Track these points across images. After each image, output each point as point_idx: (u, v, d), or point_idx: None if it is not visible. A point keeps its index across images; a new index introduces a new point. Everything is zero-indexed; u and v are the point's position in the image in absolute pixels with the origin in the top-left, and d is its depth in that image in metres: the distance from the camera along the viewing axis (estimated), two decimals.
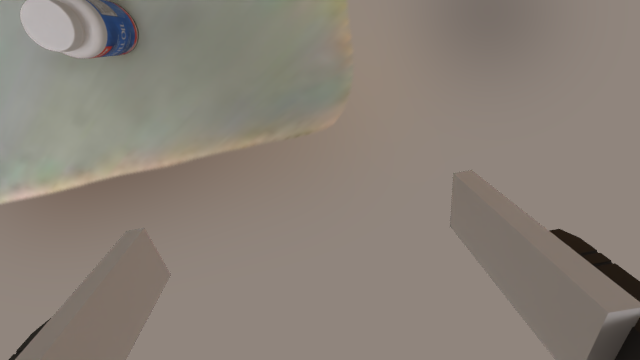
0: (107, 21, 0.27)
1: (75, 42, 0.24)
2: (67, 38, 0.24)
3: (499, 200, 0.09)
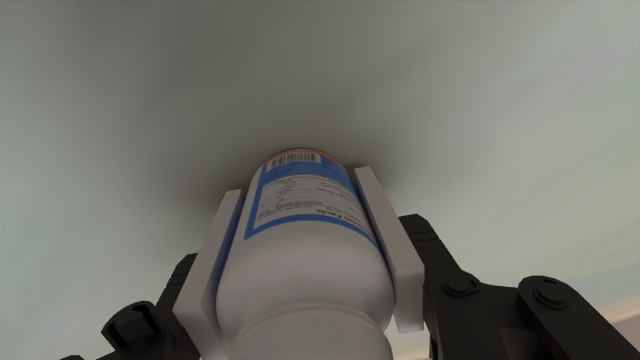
0: None
1: None
2: None
3: (375, 190, 0.11)
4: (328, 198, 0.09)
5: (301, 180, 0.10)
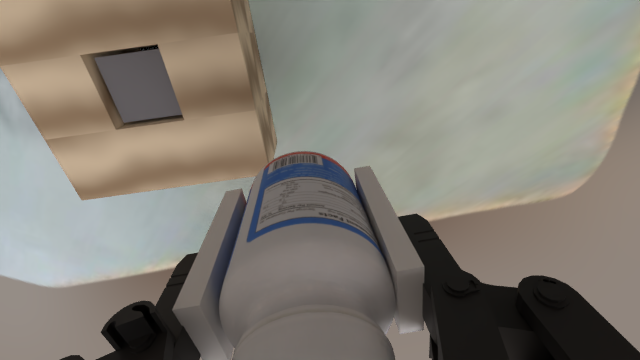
0: None
1: None
2: None
3: (375, 190, 0.11)
4: (330, 201, 0.09)
5: (303, 183, 0.10)
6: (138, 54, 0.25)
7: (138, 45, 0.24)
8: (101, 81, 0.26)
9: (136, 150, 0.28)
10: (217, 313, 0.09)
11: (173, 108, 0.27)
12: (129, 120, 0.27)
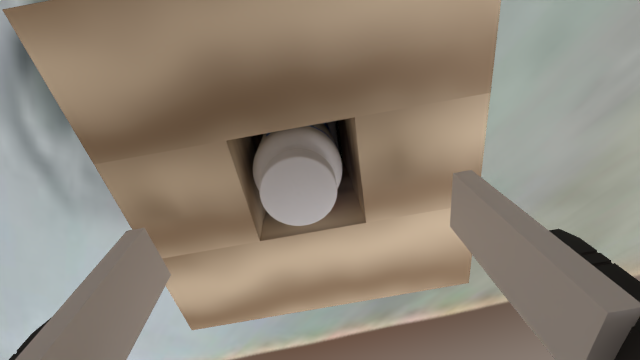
0: None
1: (328, 211, 0.15)
2: (323, 208, 0.15)
3: (499, 200, 0.09)
4: None
5: None
6: None
7: (323, 121, 0.14)
8: (243, 172, 0.16)
9: (283, 265, 0.18)
10: None
11: None
12: None
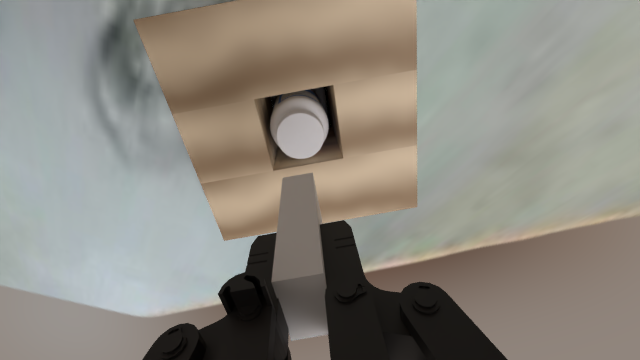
0: None
1: (319, 149, 0.24)
2: (315, 147, 0.24)
3: (307, 197, 0.12)
4: (306, 93, 0.27)
5: None
6: None
7: (314, 87, 0.23)
8: (262, 123, 0.25)
9: None
10: None
11: None
12: None
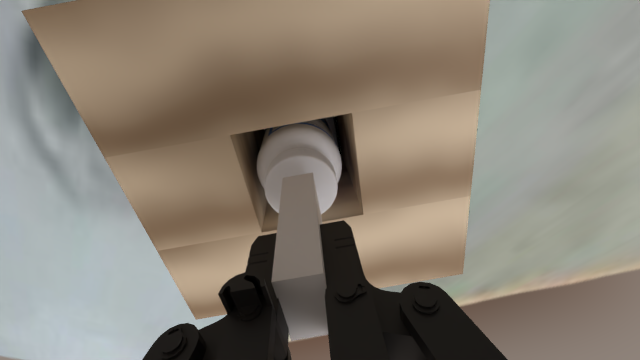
0: None
1: (329, 205, 0.16)
2: (324, 203, 0.16)
3: (307, 197, 0.12)
4: None
5: None
6: None
7: (322, 116, 0.15)
8: (245, 165, 0.17)
9: None
10: None
11: None
12: None
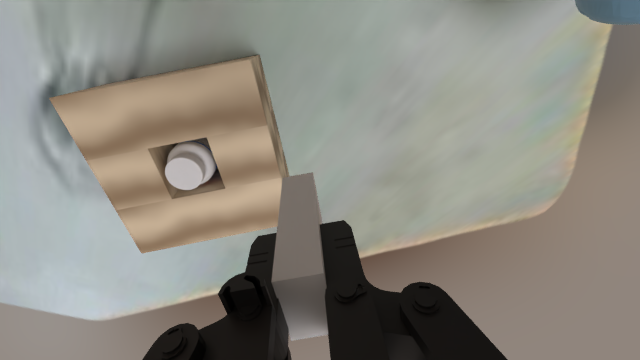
0: None
1: (201, 182, 0.32)
2: (197, 181, 0.32)
3: (307, 197, 0.12)
4: None
5: None
6: None
7: (192, 139, 0.31)
8: (160, 163, 0.33)
9: (186, 212, 0.35)
10: None
11: None
12: None
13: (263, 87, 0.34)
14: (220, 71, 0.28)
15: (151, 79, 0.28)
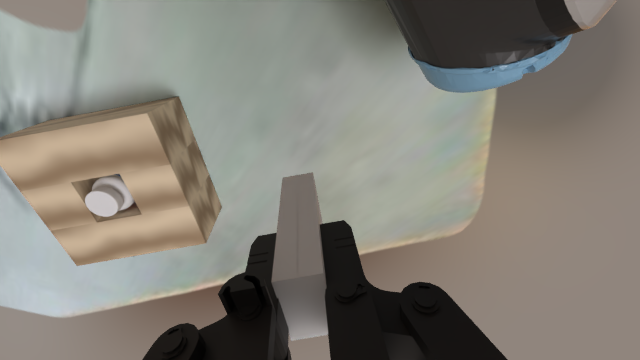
0: None
1: (118, 210, 0.38)
2: (113, 209, 0.38)
3: (307, 197, 0.12)
4: None
5: None
6: None
7: (107, 175, 0.37)
8: (85, 193, 0.39)
9: (111, 233, 0.41)
10: None
11: None
12: None
13: (175, 128, 0.40)
14: (123, 122, 0.34)
15: (66, 128, 0.34)
